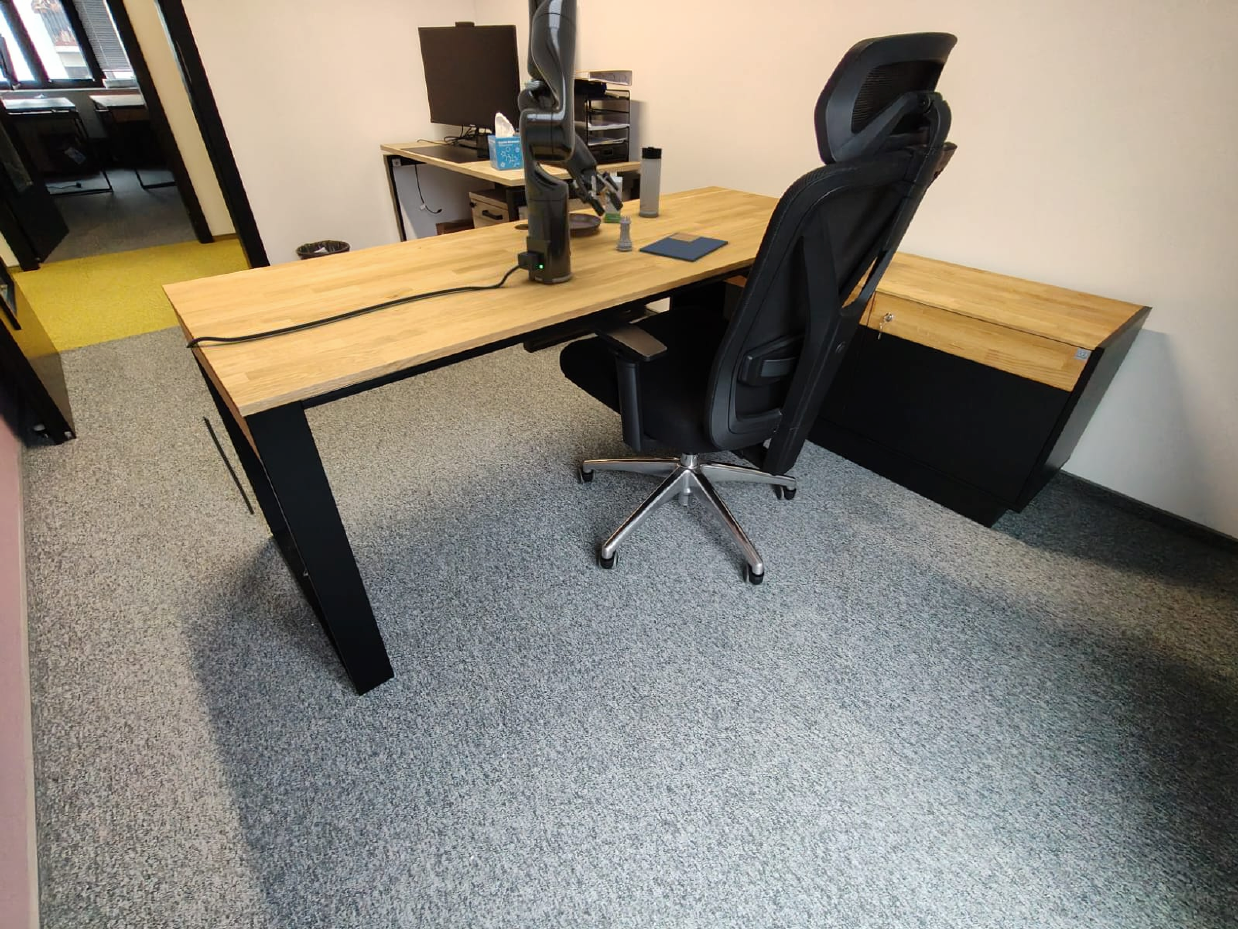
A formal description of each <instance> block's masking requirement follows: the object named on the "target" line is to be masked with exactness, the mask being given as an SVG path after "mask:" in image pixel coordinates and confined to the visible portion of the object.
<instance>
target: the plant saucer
mask: <svg viewBox="0 0 1238 929" xmlns="http://www.w3.org/2000/svg"><path fill="white" fill-rule="evenodd" d="M569 219H570V237H582V236H588V235H591V234H593V233H595V232H596V231H597V230H598V229H599V227H600V226H601V224H602V221H603V219H602V218H601V217H599V216H598V215H594V214H589V213H584V212H583V213H581V212H569Z"/></svg>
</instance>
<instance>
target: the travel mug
mask: <svg viewBox="0 0 1238 929" xmlns="http://www.w3.org/2000/svg"><path fill="white" fill-rule="evenodd" d="M662 153H663V148H662V147H661V148H660V147H654V146H647V147H641V157H640V158H641V160H640V184H639V185H640V186H639V212H638V215H639V216H640V217H641V218H657V217H659V210H660V209H659V208H660V192H661V190H660V189H661V176H662V175H661V174H662V160H663V159H662V155H663V154H662Z"/></svg>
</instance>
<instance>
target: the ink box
mask: <svg viewBox="0 0 1238 929" xmlns="http://www.w3.org/2000/svg"><path fill="white" fill-rule="evenodd" d="M610 177H611V178H612V180H613V181H614V182H615V184H616V185H617V187H618V188H619V190H618V191H617V193H616V194H617V196H618V198H619V199H620V201H621V202H622V199H623V198H622V197H623V177H622V176H611V175H610ZM611 187H612V188H613V186H612V185H611ZM613 189H614V188H613ZM607 192H608V191H607ZM608 193H609V192H608ZM609 194H610V193H609ZM604 196H605V195H604ZM622 203H623V202H622ZM604 209H605V213H604V223H616V224H620V223H619V221H620V219H621V217H622V209H621V210H619V211H617V210H616V209H615V207H614V206H613V204H612V203H611V201H610V199H609V198H608V197H606V196H605V197H604Z"/></svg>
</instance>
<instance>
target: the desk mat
mask: <svg viewBox="0 0 1238 929" xmlns="http://www.w3.org/2000/svg"><path fill="white" fill-rule="evenodd" d="M728 244H729V241H728V240H723V239H717V238H712V237H706V236H701V235H696V234H691V233H690V234H689V233H684V232H678V231H677V232H675V233H673V234H670V235H668V236H666V237H664V238H662V239H659V240H657V241H654V242H652V243H649V244H648V245H645V246H642V247H640V248H639V249H638V252H641V253H647V254H651V255H656V256H661V257H666V258H670V259H677V260H680V261H685V262H691V263H694V262H695V261H697V260H699V259H701V258H703V257H705V256H707V255H709V254H711V253H713V252H714V251H717V250H718V249H720V248H722V247H724V246H726V245H728Z"/></svg>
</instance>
